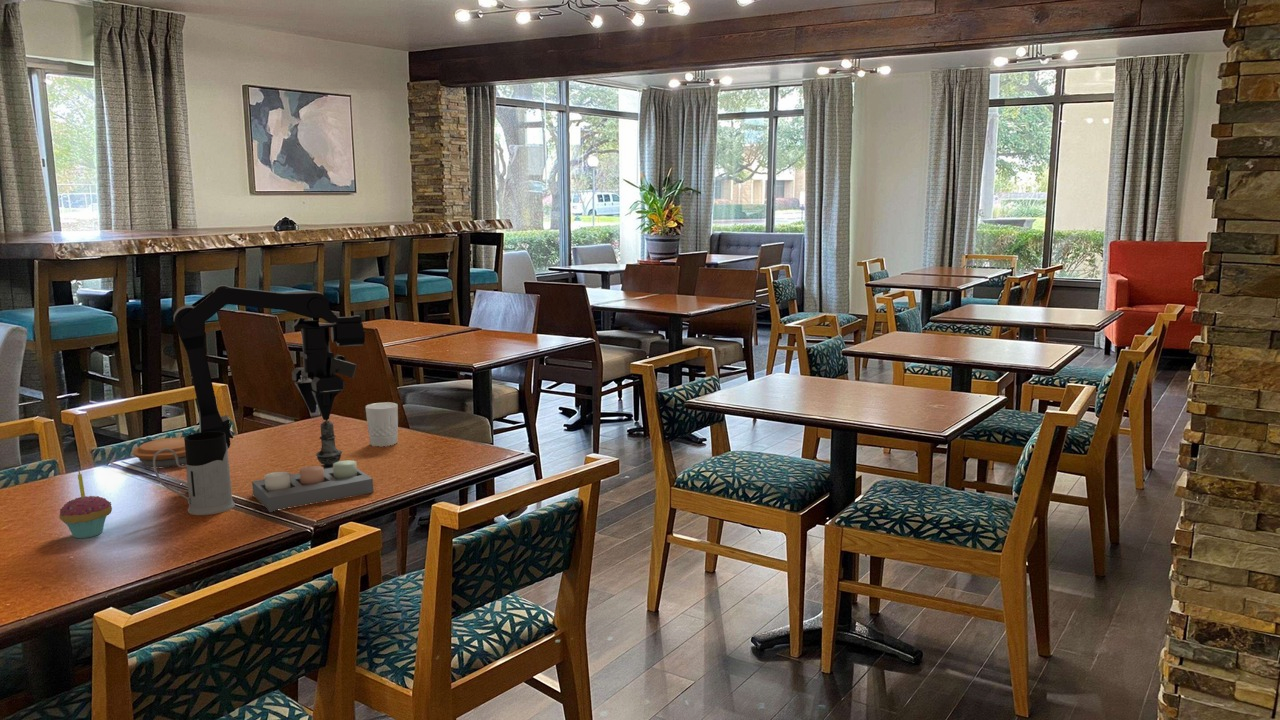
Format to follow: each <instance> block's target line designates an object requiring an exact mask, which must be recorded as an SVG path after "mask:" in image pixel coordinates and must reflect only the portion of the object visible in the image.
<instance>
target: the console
mask: <svg viewBox="0 0 1280 720" xmlns="http://www.w3.org/2000/svg"><path fill="white" fill-rule="evenodd" d="M289 475H290V488H287V489H281V490H275V491H270V492H267V491H266V489H265V478H264V479H257V480H253V481H251V486H252V487H251V488H252V496H253V495H254V496H255V497H256V498H257V499H258V500H259V501H260V502H261V503H262V504H263V505H264V506H265V507H266V508H267V509H266V508H265V507H264V506H263V505H262V504H261V503H260V502H259V501H258V500H257V499H256V498H255V499H256V500H257V501H258V502H259V503H260V504H261V505H262V506H263V507H264V508H265V509H266V510H267V511H268V512H269V513H273V511H274V512H276V511H275V510H278V509H283V508H288V507H294V506H299V505H305V504H310V503H316V502H321V503H323V502H322V501H326V500H331V501H334V500H333V499H337V500H340V499H339V498H342V499H346V498H345V497H347V498H351V497H350V496H352V497H357V496H356V495H358V496H361V495H367V494H372V493H374V479H373V478H372V477H371V476H369V475H368V474H366V473H364V472H363V471H362V470H360V469H359V468H357V476H354V477H348V478H342V479H337V480H336V479H335V478H334V472H333V468H327V469H324V480H325V482H320V483H315V484H309V485H303V486H302V485H301V484H300V472H299V473H293V474H289ZM254 496H253V497H254ZM326 502H327V501H326ZM316 504H317V503H316ZM305 506H306V505H305Z"/></svg>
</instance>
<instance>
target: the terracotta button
mask: <svg viewBox="0 0 1280 720" xmlns="http://www.w3.org/2000/svg"><path fill="white" fill-rule="evenodd" d="M299 473H300V484H301V485H302V486H303V485H309V484H315V483H320V482H325V480H324V468H323V467H322V466H321V465H309V466H306V467H302V468H301V467H300V468H299Z"/></svg>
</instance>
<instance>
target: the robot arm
mask: <svg viewBox="0 0 1280 720" xmlns="http://www.w3.org/2000/svg"><path fill="white" fill-rule="evenodd" d="M227 305H231V306H243V307H250V308H261V309H271V310H279V311H285V312H289V313H293V314H296V315H300V316H302V317H307V318H310V319H309V320H304V319H303V318H302V317H298V318H297V320H295V322H294V323H292V324H291V327H292V328H293V329H294V330H301V341H302V342H301V343H302V351H299V352H300V353H299V354H300V356H299V357H301V358H302V363H303V365H302V366H303V367H295V368H294V369H293V370H292V372H291V379H292V380H291V381H294V382H293V383H294V385H295V386H296V388H297V390H298V392H299V393H300V395H301V397H302V399H303V401H304V403H305V405H306V407H307V409H308V410H309V412H310V414H315V413H316V411H317V408H318V410H319V413H320V415H321V418H322V420H323V421H326V420H328V421H329V419H330V416H331V411H332V407H333V403H334V400H335V398H336V396H337V395H338V394H341V393H342V391H343V390H344V389H346V382H345V379H344V378H342V377H341V376H340V375H344V376H346V377H348V378H351V379H354V376H355V373H356V369H357V366H358V365H357V364H356V363H353V362H350V361H347V360H346V357H345V356H344V355H340V354H336V355H335V353H334V352H332V351H331V347H330V344H331V343H330V338H331V342H332V343H336V345H337V347H353V346H354V347H355V346H357V347H358V346H364V345H365V338H366V335H365V334H366V333H365V332H366V331H365V330H364V325H363V320H362V316H361V315H359V314H357V315H351V316H337V314H336V313H334V312H333V310H331V308H330V302H329V298H327V296H326V295H324V294H323V293H321V292H319V291H315V290H306V291H305V290H303V291H289V292H281V291H278V292H277V291H270V290H261V289H252V288H244V287H243V288H242V287H237V286H235V287H234V286H229V285H226V284H220V285H217V286H216V287H214V288H213V289H212V290H211V291H210V292H209V293H206V295H204V296H202V297H201V298H199V299H198V300H196V301H195V302H194V303H192V304H191V305H190V304H187V305H183V306H181V307H179V308H177V309H176V310H175V312H174V314H173V322H174V323H173V325H174V326H175V329H176V332H177V333H178V336H179V338H180V341H181V342H182V345H183V347H184V350H185V352H186V356H187V361H188V364H189V365H188V366H189V370H190V374H191V377H192V383H193V387H194V392H195V397H196V401H197V407H198V410H199V433H200V432H211V431H218V432H224V433H225V436H226V443H227V447H228V449H230V446H231V439H234V436H233V433H232V431H231V428H230V426H231V425H230V419H229V416H228V414H225V415H223V416H221V414H220V410H218V404H217V399H216V395H215V390H214V385H213V381H212V377H211V372H210V367H209V362H208V358H207V353H206V322H207V321H208V320H209V319H211V318H212V317H214V315H215V314H217V313H218V312H219V311H221V310H222V309H223V308H224V307H225V306H227ZM312 319H313V320H312ZM318 319H322V320H323V321H325V322H327V323H319V320H318ZM336 374H340V375H336Z"/></svg>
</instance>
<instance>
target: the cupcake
mask: <svg viewBox="0 0 1280 720" xmlns="http://www.w3.org/2000/svg"><path fill="white" fill-rule="evenodd" d="M77 472H78V474H77V479H78V485H79V492H80V496H79V497H76V498H74V499H73V498H72V499H71V500H69V501H68V502H66V503H65V504H64V505H63V506H62V507H61V508H60V509H59V517H58V518H59V520H60V521H61V522H63V523H64V524H65V525H66V526H67V527H68V529H69V532H70V533H71V535H72V537H73V538H75V539H87V538H93V537H95V536H99V535H100V534H102V533H103V531H104V526H105V522H106V518H107V516H110V514H111V513H112V510H113V507H112V502H111V501H109V500H108V499H106V498H104V497H103V496H102V497H100V496H98V495H87V496H86V493H85V492H86V491H85V487H84V481H83V474H82V473H81V470H80V469H78V470H77Z"/></svg>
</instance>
